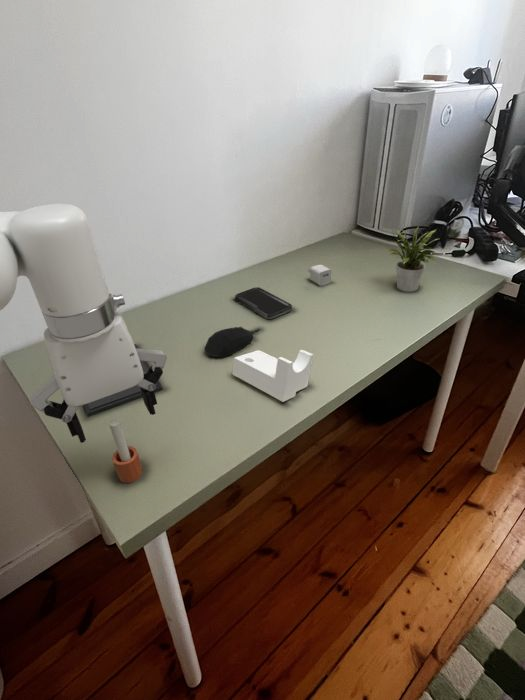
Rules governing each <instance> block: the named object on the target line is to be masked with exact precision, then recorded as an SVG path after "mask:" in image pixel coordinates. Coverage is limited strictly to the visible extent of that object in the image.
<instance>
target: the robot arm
mask: <svg viewBox="0 0 525 700" xmlns="http://www.w3.org/2000/svg"><path fill="white" fill-rule="evenodd" d="M21 276H22V277H26V278H27V279H28V281H29V283H30V286H31V288H32V290H33V293H34V295H35V299H36V300H37V303H38V306H39V308H40V311H41V313H42V316H43V319H44V322H45V324H46V327H47V328H46V329H45V330H44V331H43V339H44V344H45V345H44V346H45V350H46V354H47V357H48V361H49V363H50V367H51V370H52V372H53V375H52V376H51V377H50V378H49V379H48V380H46V381H45V382H44V383H43V384H42V385H40V387H38V388H37V389H36V390H35V391H33V392H32V393H31V394H30V395H29V396H28V399H29V404H30V406H32V407H33V408H35V409H37V410H38V411H39V412H43V413H44V415H45V416H47V417H51V418H54V419H58V420H61V422H63V423H65V424H66V425H67V428H68V431H69V432H70V435H71V437H77V438H78V440H79V442H80V444H82V443H85V442H86V441H87V439H86V436H85V435H86V434H85V433H84V430H83V427H82V424H81V421H80V418H79V416H78V413H77V411H78V410H79V407H80V406H84V404H87V403H90V402H93V401H95V400H98V399H101V398H104V397H107V396H109V395H112V394H115V393H118V392H120V391H123V390H126V389H128V388H131V387H133V386H135V385H137V386H139V387H140V389H141V393H142V397H141V398H142V399H143V403H144V406H145V407H146V410H147V411H148V413H149V414H150V416H151V415H152V416H153V415H155V414H156V410H155V409H156V408H155V405H158V401H157V396H156V392H154V390H155V388H156V385H155V384H156V383H157V381H158V380H160V379H161V377H162V375H163V373H164V371H163V370H164V368H165V365H166V362H167V355H166V354H165V352H164V351H163V350H159V349H158V350H157V349H148V348H147V349H146V348H138V349H137V348H135V345H134V344H135V342H134V340H133V337H132V335H131V333H130V331H129V328H128V327H127V323H126V322H125V319H124V317H123V315H122V314H121V312H120V311H119V310H117V309H118V308H120V307H121V306H125V305H126V303H125V299H124V296H123V294H117V295H116V294H113V295H112V293H110V292H109V289H108V285H107V281H106V279H105V275H104V271H103V268H102V265H101V261H100V258H99V254H98V251H97V248H96V244H95V240H94V237H93V233H92V230H91V226H90V223H89V221H88V217H87V215H86V214H85V212H84V211H83V210H82V209H81V208H80V207H78V206H77V205H74V204H70V203H48V204H42V205H37V206H32V207H29V208H27V209H24V210H18V211H17V210H16V211H0V311H2V310H4V308H6V306H7V305H8V304H10V302H11V300H12V299H13V297H14V295H15V292H16V290H17V289H16V288H17V283H18V278H19V277H21ZM140 361H147V363H149V362H151V363H152V364H151V366H150V369H149V370H148V372H147V373H145V372H143V369H142V366H141V363H140ZM58 390H59V391H60V394H61V397H62V399H61V401H60V403H59V402H55V401H52V400H48V399H49V398H50V397H51V396H52V395H54V394H55V393H56V392H57V391H58Z"/></svg>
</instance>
